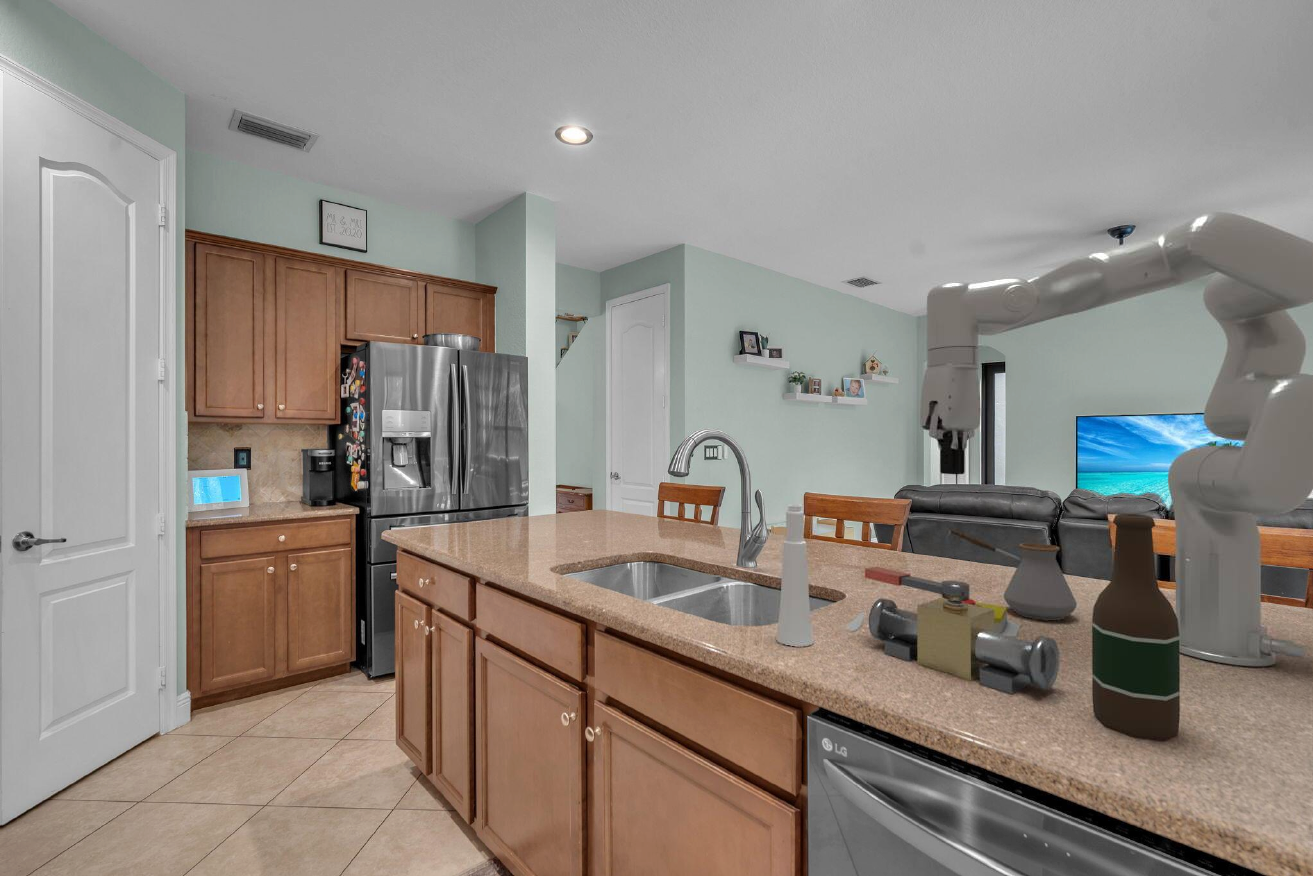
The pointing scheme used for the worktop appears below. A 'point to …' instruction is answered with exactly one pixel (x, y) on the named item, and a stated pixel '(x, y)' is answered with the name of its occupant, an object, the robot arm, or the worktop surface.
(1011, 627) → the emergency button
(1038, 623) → the worktop surface
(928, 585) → the lever
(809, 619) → the cosmetic bottle
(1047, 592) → the coffee pot
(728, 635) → the worktop surface
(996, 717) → the worktop surface
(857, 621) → the butter knife
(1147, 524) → the beer bottle
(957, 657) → the valve
